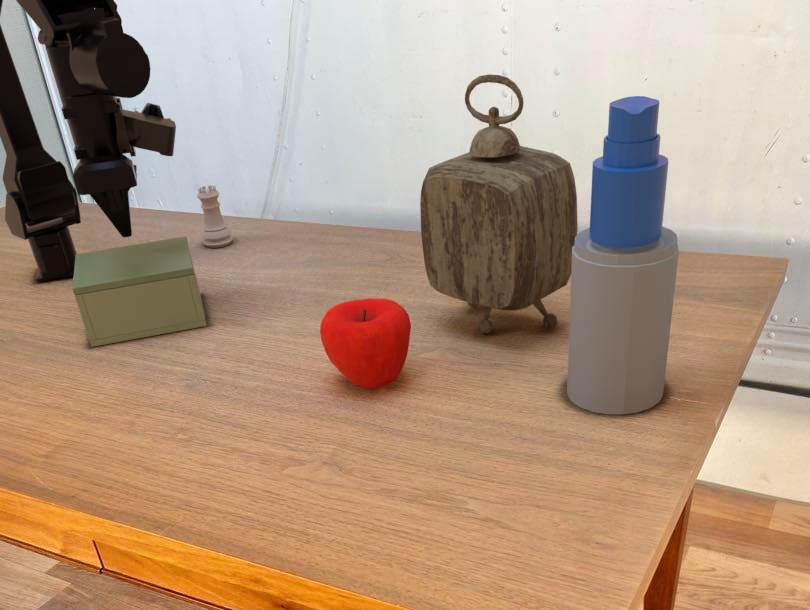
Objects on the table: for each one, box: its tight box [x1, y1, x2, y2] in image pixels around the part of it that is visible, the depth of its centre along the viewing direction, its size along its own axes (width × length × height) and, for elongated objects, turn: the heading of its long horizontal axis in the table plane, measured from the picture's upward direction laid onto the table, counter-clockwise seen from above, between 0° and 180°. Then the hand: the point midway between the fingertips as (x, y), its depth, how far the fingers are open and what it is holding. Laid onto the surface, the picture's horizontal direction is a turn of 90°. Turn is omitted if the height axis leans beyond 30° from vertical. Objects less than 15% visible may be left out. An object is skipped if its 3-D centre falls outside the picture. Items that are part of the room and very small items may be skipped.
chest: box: [74, 249, 207, 348], centre depth 103 cm, size 11×14×6 cm
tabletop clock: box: [419, 74, 579, 335], centre depth 87 cm, size 14×9×25 cm, turn 47°
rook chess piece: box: [196, 185, 234, 249], centre depth 124 cm, size 4×4×8 cm
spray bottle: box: [566, 95, 680, 416], centre depth 73 cm, size 9×9×25 cm
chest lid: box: [71, 235, 195, 296], centre depth 101 cm, size 11×14×1 cm
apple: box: [319, 298, 412, 389], centre depth 84 cm, size 9×9×8 cm
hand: (127, 236), depth 101 cm, fingers closed
